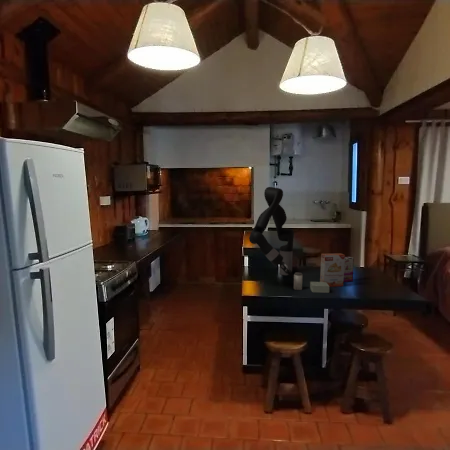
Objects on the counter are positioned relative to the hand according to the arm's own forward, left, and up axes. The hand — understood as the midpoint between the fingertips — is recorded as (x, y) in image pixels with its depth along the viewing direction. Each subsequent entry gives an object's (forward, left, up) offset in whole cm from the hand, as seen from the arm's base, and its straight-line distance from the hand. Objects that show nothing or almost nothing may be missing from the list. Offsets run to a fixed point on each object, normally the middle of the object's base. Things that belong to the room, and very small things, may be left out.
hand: (292, 275), depth 241 cm
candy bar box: (-23, +38, -9) cm, 45 cm away
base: (+2, +17, -9) cm, 19 cm away
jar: (0, +4, -9) cm, 9 cm away
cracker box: (-10, +27, -9) cm, 30 cm away
